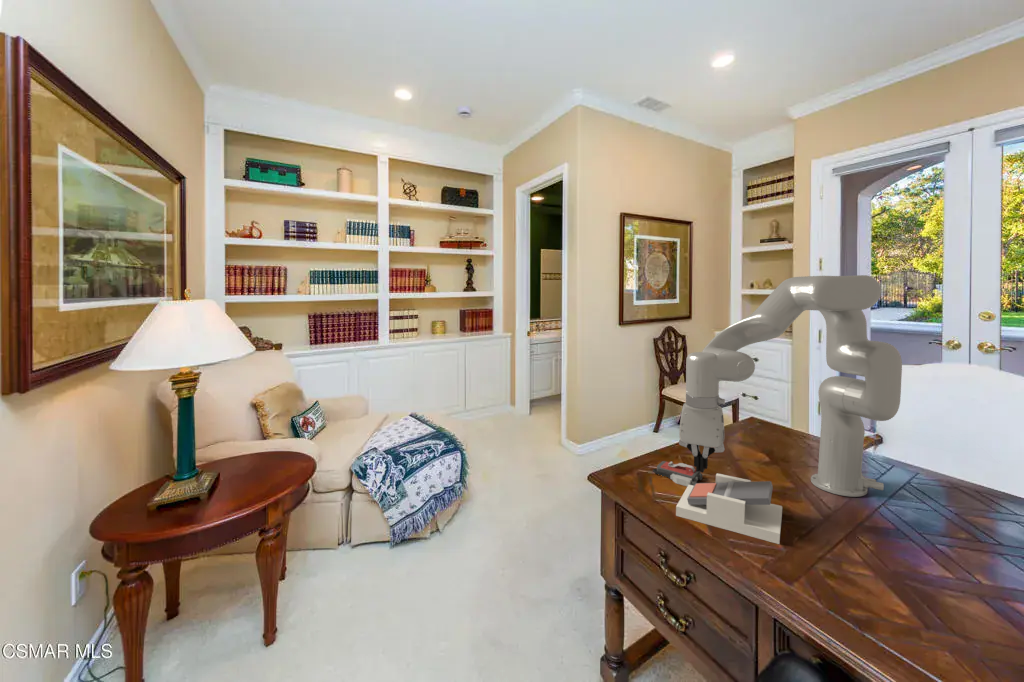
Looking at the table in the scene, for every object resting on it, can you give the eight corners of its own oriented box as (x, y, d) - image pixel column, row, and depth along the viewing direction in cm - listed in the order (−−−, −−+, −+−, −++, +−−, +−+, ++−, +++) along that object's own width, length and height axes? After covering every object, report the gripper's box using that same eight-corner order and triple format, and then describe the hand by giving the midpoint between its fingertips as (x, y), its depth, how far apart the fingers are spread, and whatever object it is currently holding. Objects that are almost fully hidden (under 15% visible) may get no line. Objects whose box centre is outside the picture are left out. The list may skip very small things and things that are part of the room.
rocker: (773, 488, 101) (770, 480, 101) (770, 505, 93) (768, 497, 93) (697, 489, 112) (695, 482, 112) (689, 505, 104) (686, 497, 104)
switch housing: (781, 515, 103) (783, 487, 102) (779, 544, 91) (781, 512, 90) (688, 492, 115) (689, 467, 114) (675, 515, 104) (676, 487, 103)
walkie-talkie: (649, 477, 127) (719, 497, 113) (649, 463, 126) (719, 482, 113) (660, 467, 133) (728, 486, 120) (661, 454, 133) (728, 471, 119)
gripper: (737, 401, 103) (735, 471, 105) (674, 394, 111) (674, 459, 114) (733, 408, 97) (731, 482, 99) (667, 401, 105) (666, 469, 107)
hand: (700, 469), depth 106 cm, fingers closed
